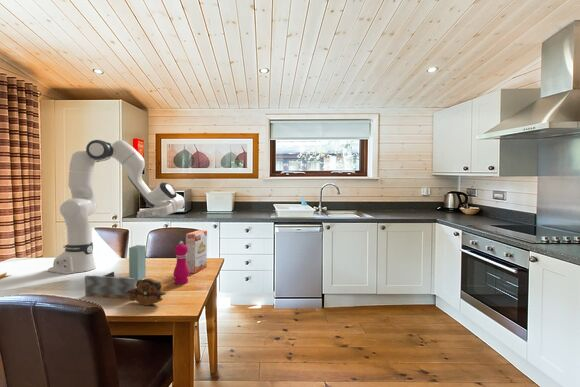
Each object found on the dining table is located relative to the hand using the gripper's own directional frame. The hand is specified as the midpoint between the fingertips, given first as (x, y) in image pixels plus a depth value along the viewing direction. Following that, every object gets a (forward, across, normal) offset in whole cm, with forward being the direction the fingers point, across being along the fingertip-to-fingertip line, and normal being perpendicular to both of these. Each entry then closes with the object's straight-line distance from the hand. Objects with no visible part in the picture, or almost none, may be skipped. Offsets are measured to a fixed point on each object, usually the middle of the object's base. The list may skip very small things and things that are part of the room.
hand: (144, 215), depth 171 cm
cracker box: (-9, +15, +36) cm, 40 cm away
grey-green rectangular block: (+14, -2, +28) cm, 32 cm away
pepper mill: (+12, +22, +33) cm, 41 cm away
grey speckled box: (+30, +6, +26) cm, 41 cm away
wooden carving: (+39, +27, +29) cm, 56 cm away
